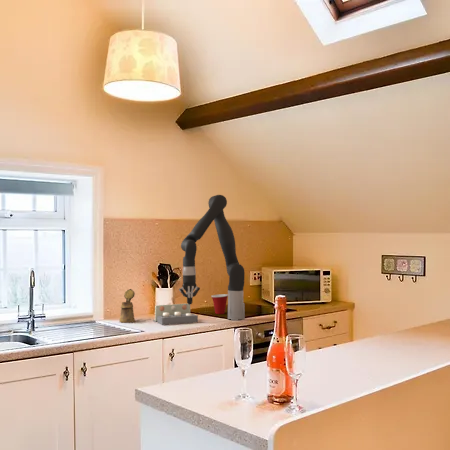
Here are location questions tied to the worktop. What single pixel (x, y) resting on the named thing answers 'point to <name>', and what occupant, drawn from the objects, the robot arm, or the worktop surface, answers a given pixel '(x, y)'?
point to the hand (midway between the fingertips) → (189, 304)
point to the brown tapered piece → (127, 308)
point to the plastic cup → (219, 303)
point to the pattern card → (171, 309)
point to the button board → (177, 319)
